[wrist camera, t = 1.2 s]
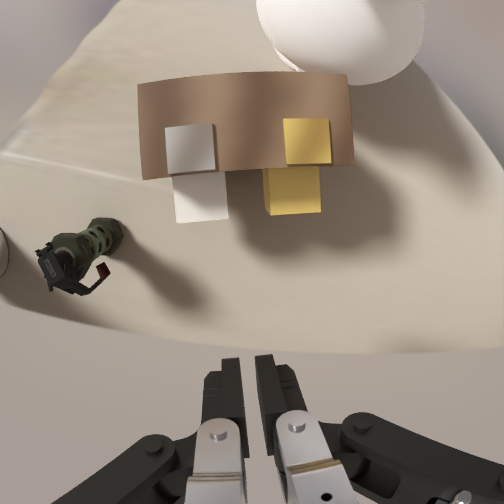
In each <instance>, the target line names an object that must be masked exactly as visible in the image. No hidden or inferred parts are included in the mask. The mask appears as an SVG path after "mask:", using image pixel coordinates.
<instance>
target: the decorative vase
mask: <svg viewBox="0 0 504 504" xmlns="http://www.w3.org/2000/svg"><path fill="white" fill-rule="evenodd" d="M422 1H424V0H256V5H257V13H258V17H259V20H260V23H261V26H262V28H263V30H264V32H265V34H266V35H267V37H268V38H269V40H270V41H271V43H272V44H273V46H274V48H275V50H276V52H277V54H278V55H279V57H280V58H281V59H282V61H283V62H284V63H285V64H286V65H287V66H289V67H290V68H291V69H292V70H294V71H295V72H320V73H337V74H347V79H348V85H368V84H373V83H378V82H381V81H384V80H386V79H389V78H391V77H393V76H395V75H396V74H398V73H399V72H401V71H402V70H403V69H405V68H406V67H407V66H408V65H409V64H410V63H411V62H412V60H413V59H414V57H415V56H416V54H417V53H418V51H419V49H420V46H421V44H422V40H423V36H424V28H425V16H424V8H423V3H422Z"/></svg>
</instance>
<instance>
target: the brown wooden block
mask: <svg viewBox="0 0 504 504" xmlns="http://www.w3.org/2000/svg"><path fill="white" fill-rule="evenodd" d="M138 118H139V137H140V153H141V166H142V177H143V180H149V179H156V178H165V177H173V176H182V175H191V174H201V173H212V172H223V171H236V170H250V169H265V168H284V167H310V166H355V164H354V146H353V131H352V119H351V108H350V97H349V88H348V79H347V74H337V73H320V72H242V73H225V74H212V75H202V76H192V77H184V78H176V79H169V80H162V81H155V82H149V83H144V84H138Z"/></svg>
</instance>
